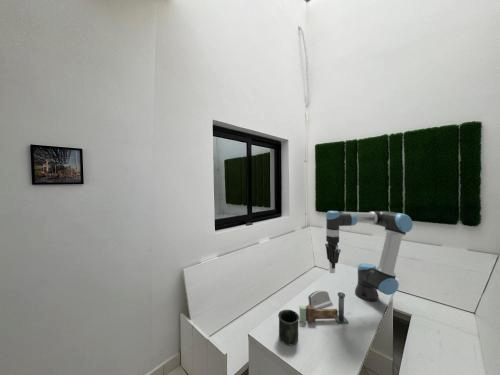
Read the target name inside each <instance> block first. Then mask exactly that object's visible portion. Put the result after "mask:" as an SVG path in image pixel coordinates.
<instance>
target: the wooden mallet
mask: <svg viewBox="0 0 500 375" xmlns="http://www.w3.org/2000/svg"><path fill="white" fill-rule="evenodd" d="M306 306H307V318H306V321H307V322H308V323H310V324H311V323H312V324H315V323H316V321H317V320H336V319H338V309H337V308H323V309H315V307H314V306H313V305H309V304H307V305H306Z"/></svg>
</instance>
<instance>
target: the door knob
mask: <svg viewBox="0 0 500 375" xmlns="http://www.w3.org/2000/svg"><path fill="white" fill-rule="evenodd" d="M337 297H338V309H337V310H338V319H335V321H336V322H337V324H338V325H342V324H346V325H347V324H349V322H350V321H349V320H348V318H346V317H345V298H346V294H345V293H344V292H340V291H339V292H337Z"/></svg>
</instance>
